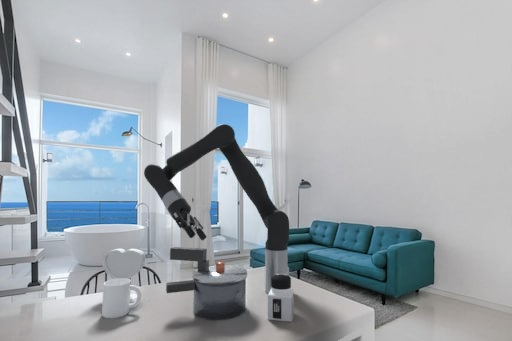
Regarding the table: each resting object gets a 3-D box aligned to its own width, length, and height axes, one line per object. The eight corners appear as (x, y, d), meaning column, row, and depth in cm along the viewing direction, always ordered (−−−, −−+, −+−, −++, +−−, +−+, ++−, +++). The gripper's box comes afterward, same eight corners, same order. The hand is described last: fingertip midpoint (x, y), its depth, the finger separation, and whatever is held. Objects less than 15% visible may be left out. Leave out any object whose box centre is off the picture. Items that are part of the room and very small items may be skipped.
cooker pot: (236, 297, 110) (237, 268, 111) (252, 315, 94) (253, 280, 95) (164, 306, 101) (165, 274, 102) (167, 328, 84) (168, 290, 85)
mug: (143, 307, 99) (144, 277, 100) (137, 317, 91) (138, 284, 92) (107, 309, 98) (109, 278, 99) (97, 319, 90) (99, 286, 91)
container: (291, 322, 88) (291, 279, 90) (267, 320, 90) (267, 277, 91) (293, 312, 96) (293, 273, 97) (271, 310, 98) (271, 271, 99)
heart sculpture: (98, 298, 108) (101, 250, 110) (105, 294, 113) (108, 248, 115) (139, 298, 108) (141, 250, 110) (144, 294, 113) (146, 248, 115)
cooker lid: (253, 271, 107) (253, 246, 107) (237, 286, 88) (238, 257, 89) (184, 266, 113) (184, 243, 114) (156, 279, 95) (157, 252, 96)
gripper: (173, 193, 100) (197, 228, 94) (192, 202, 113) (215, 232, 107) (157, 207, 100) (180, 243, 94) (179, 214, 113) (200, 246, 107)
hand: (199, 237), depth 100 cm, fingers open, 8 cm apart
